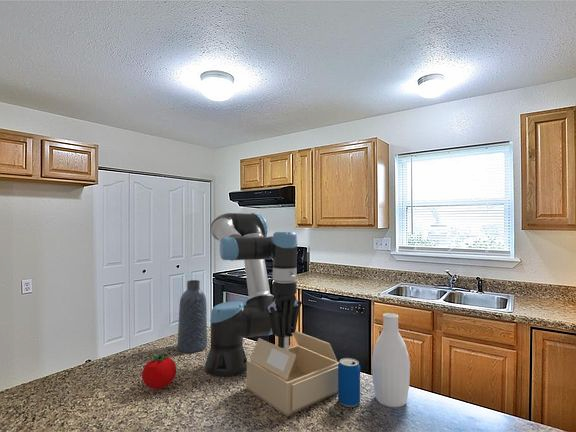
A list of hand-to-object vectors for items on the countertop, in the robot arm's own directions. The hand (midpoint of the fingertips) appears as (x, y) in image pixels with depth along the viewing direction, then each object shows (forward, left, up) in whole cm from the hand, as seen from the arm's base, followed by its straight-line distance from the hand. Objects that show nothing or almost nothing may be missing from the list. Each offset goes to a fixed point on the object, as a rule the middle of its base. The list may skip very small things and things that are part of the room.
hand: (284, 357), depth 104 cm
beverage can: (+16, +12, -12) cm, 23 cm away
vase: (-55, -5, -12) cm, 56 cm away
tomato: (-29, -28, -12) cm, 42 cm away
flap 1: (0, -7, -2) cm, 7 cm away
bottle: (+23, +23, -12) cm, 34 cm away
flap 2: (0, +14, -2) cm, 15 cm away
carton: (0, +4, -11) cm, 12 cm away
